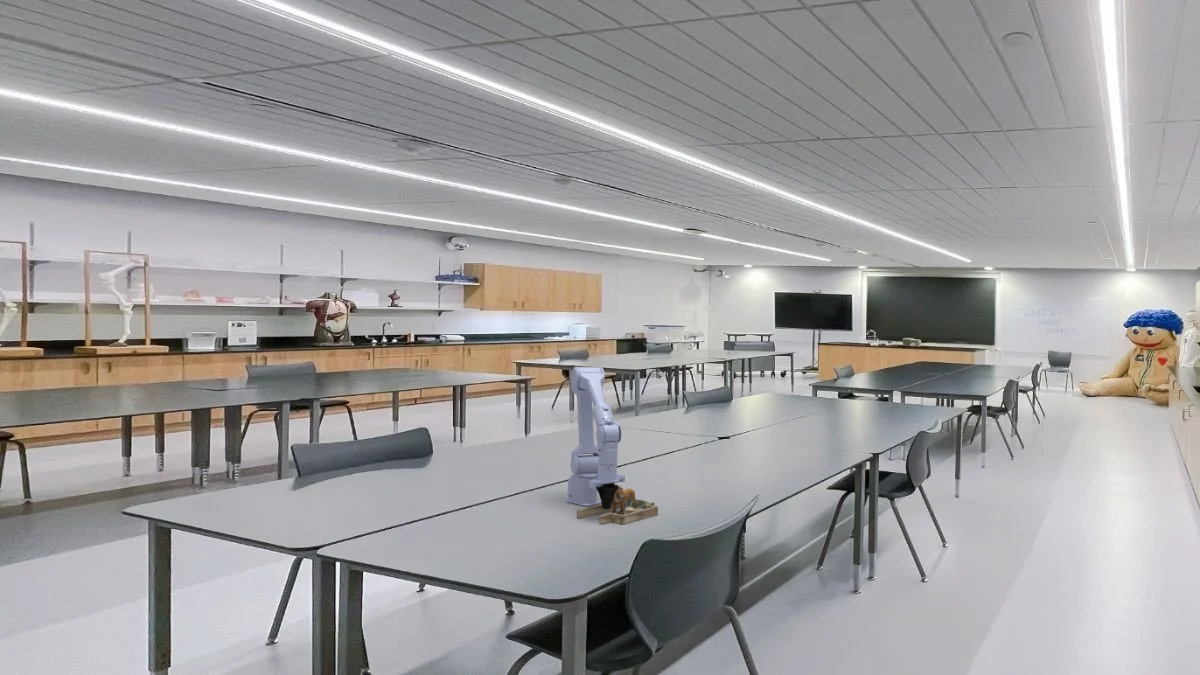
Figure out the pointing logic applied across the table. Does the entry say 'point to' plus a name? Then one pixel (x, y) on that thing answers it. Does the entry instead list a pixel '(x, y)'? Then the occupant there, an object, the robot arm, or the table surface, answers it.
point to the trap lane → (629, 516)
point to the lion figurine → (623, 499)
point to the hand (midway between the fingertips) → (606, 508)
